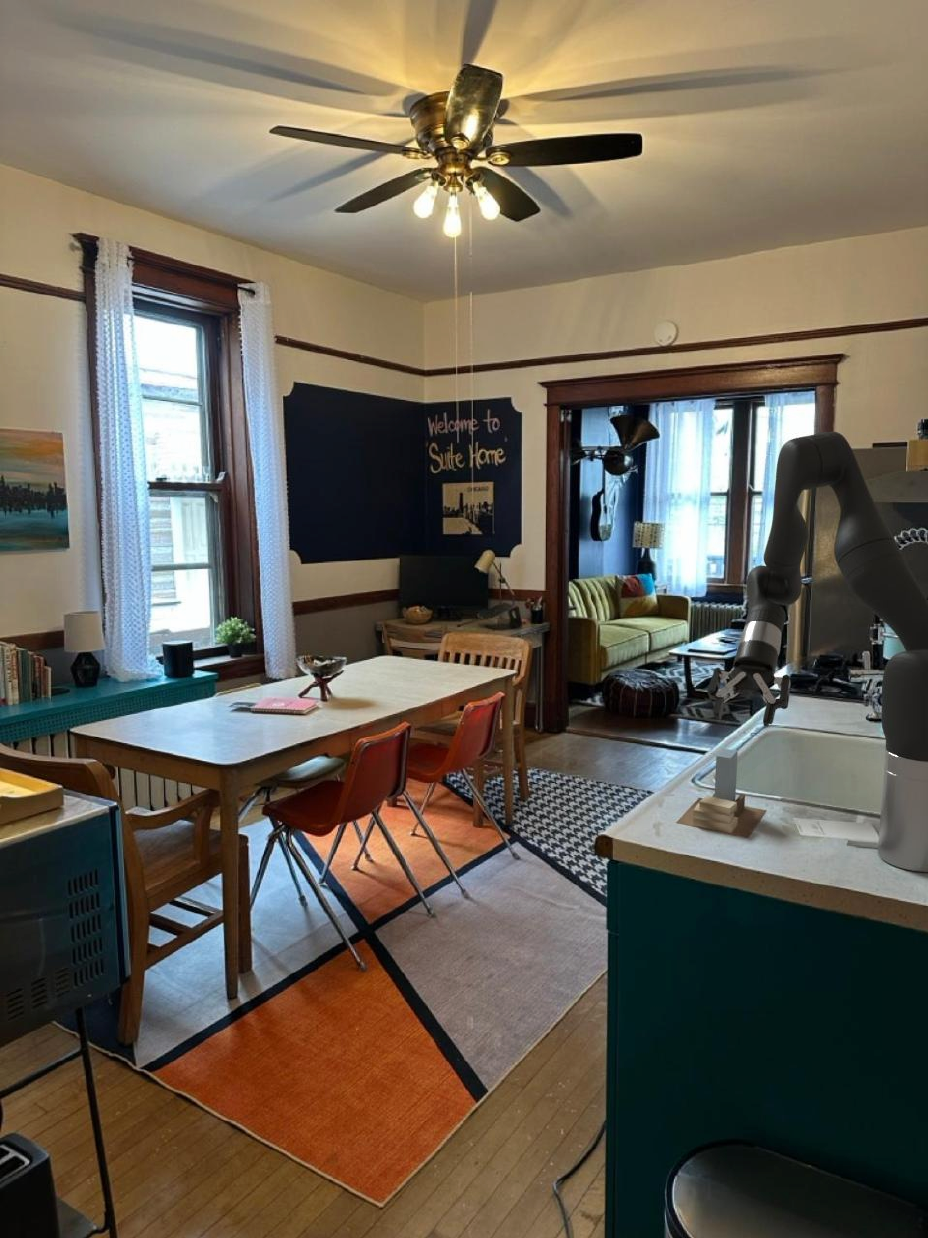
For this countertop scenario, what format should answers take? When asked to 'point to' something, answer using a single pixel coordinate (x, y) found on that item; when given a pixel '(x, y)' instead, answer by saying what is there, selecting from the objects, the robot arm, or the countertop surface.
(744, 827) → the walnut stand
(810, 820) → the external hard drive
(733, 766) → the slate-blue block
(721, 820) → the birch offcut stack
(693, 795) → the countertop surface
